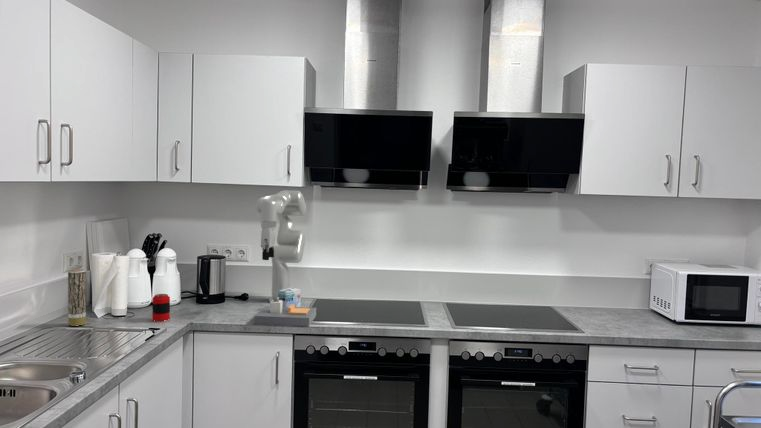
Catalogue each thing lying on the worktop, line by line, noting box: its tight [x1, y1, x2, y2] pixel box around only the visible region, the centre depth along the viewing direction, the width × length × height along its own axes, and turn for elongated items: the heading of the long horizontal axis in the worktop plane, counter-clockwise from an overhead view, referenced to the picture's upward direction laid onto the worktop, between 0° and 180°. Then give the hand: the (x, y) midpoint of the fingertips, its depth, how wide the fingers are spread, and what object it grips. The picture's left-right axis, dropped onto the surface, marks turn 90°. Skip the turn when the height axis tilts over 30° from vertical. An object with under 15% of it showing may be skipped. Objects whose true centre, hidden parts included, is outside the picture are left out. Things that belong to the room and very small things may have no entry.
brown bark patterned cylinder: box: [67, 268, 87, 326], centre depth 233 cm, size 7×7×25 cm
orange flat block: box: [288, 304, 310, 315], centre depth 252 cm, size 9×9×3 cm
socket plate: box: [253, 305, 317, 327], centre depth 252 cm, size 20×26×4 cm
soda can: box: [151, 293, 171, 321], centre depth 245 cm, size 8×8×12 cm
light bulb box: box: [278, 287, 302, 307], centre depth 272 cm, size 11×7×11 cm, turn 143°
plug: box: [269, 297, 283, 313], centre depth 252 cm, size 5×5×11 cm
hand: (268, 258), depth 261 cm, fingers open, 9 cm apart
